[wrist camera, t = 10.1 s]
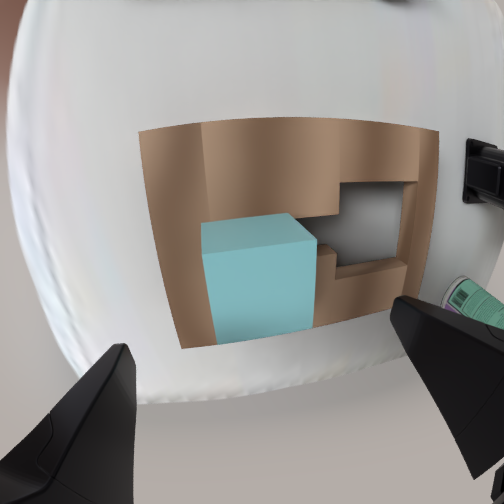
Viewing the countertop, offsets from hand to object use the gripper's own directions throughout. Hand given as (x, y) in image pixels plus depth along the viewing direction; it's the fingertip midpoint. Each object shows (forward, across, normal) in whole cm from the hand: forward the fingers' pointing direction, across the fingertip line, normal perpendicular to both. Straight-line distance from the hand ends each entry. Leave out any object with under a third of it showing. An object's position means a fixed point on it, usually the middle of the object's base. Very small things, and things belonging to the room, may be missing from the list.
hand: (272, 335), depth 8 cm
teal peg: (+11, 0, 0) cm, 11 cm away
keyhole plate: (+11, -5, 0) cm, 12 cm away
